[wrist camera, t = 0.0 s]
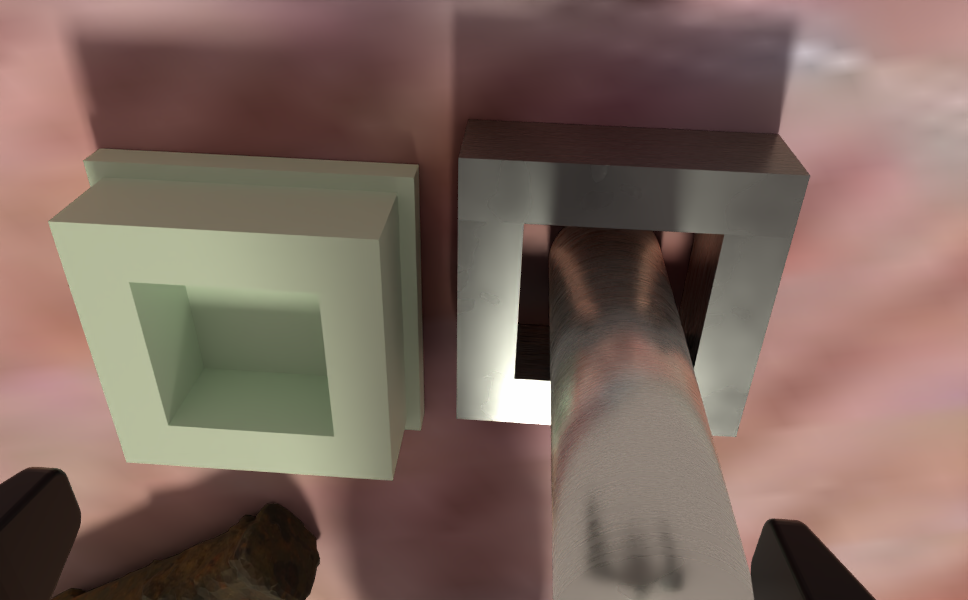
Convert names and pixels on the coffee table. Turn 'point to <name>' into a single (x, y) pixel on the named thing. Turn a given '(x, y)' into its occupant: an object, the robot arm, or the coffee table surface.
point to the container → (251, 308)
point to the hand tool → (227, 566)
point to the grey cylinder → (631, 434)
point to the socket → (620, 205)
